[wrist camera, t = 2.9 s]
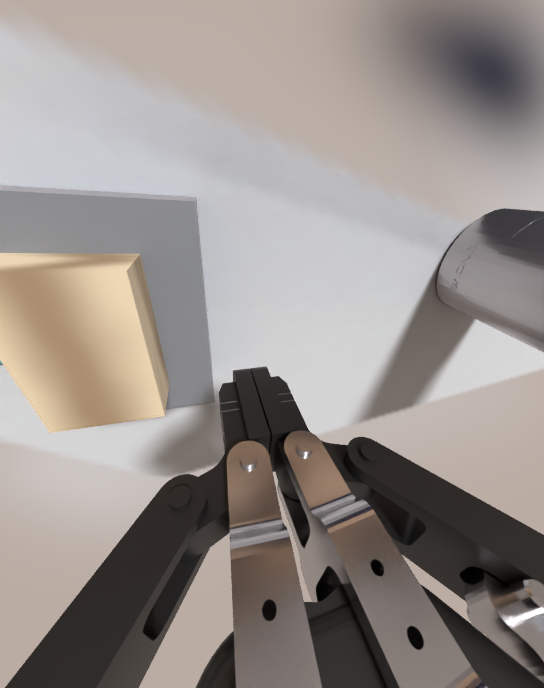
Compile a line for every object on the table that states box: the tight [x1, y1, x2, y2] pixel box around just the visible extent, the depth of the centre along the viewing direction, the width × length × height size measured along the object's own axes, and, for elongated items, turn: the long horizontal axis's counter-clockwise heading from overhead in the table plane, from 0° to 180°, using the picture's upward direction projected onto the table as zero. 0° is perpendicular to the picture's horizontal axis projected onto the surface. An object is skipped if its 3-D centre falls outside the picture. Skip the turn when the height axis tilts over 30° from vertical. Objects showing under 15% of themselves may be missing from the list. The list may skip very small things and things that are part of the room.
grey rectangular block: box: [0, 186, 214, 409], centre depth 16 cm, size 10×14×4 cm
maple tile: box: [0, 253, 169, 433], centre depth 13 cm, size 6×9×3 cm, turn 176°
